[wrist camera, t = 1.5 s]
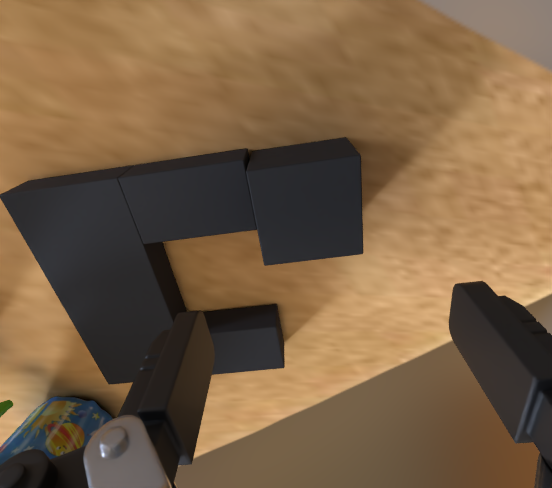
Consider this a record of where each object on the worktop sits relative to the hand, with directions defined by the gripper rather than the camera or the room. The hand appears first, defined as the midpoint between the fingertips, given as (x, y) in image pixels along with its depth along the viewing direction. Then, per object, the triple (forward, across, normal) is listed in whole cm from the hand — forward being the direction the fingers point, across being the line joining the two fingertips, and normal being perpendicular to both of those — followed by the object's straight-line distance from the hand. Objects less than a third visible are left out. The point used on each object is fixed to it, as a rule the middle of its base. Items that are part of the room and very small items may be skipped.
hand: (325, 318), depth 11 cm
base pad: (+12, +10, +5) cm, 16 cm away
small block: (+12, 0, 0) cm, 12 cm away
